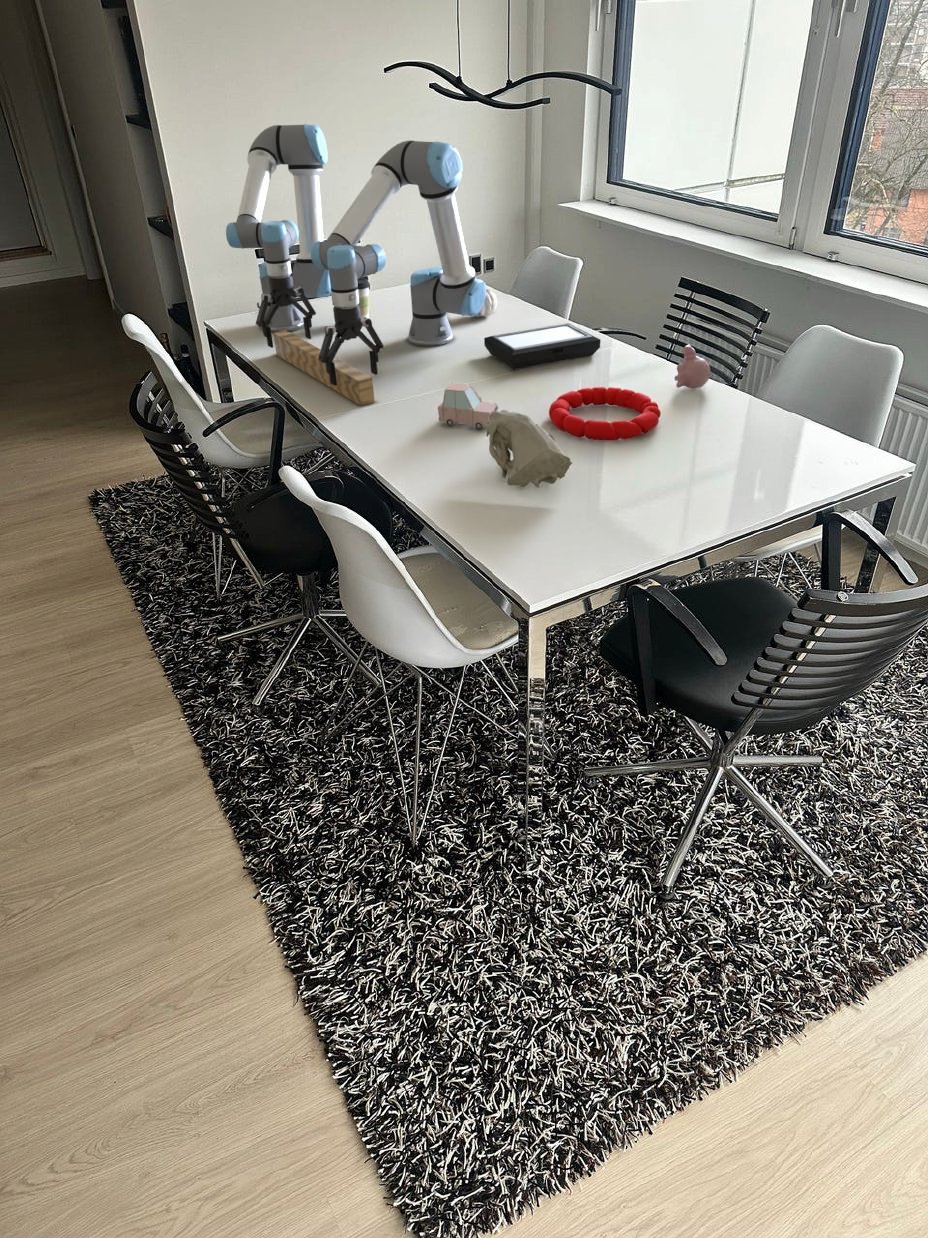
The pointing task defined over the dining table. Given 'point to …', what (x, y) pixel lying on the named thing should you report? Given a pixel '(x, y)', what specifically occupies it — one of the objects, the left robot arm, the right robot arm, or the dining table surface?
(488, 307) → the seashell
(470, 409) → the toy car
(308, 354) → the bar
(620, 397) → the decorative ring
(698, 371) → the figurine
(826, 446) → the dining table surface
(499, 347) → the electronic device
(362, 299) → the coffee cup
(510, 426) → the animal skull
